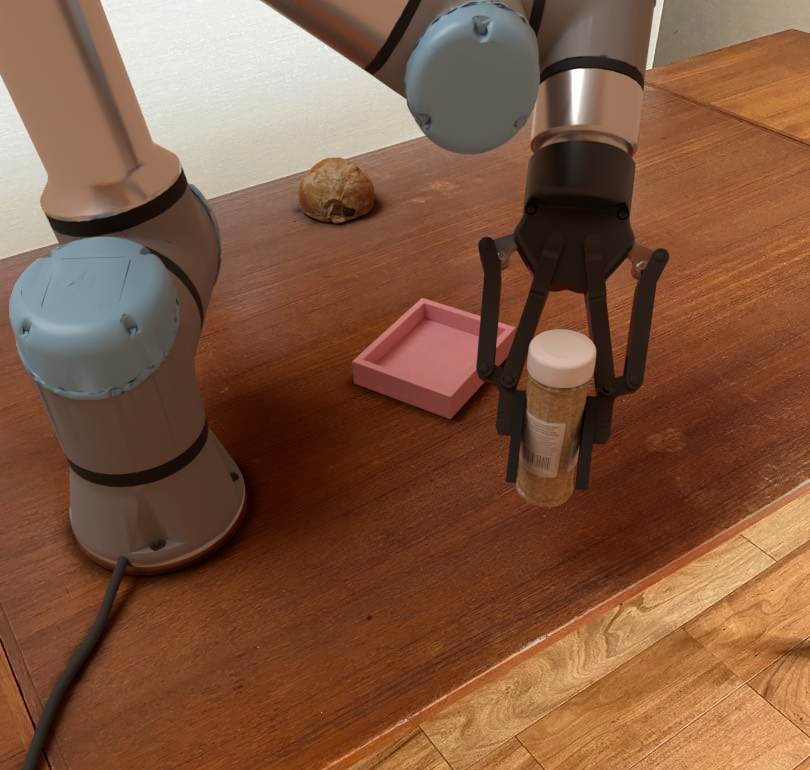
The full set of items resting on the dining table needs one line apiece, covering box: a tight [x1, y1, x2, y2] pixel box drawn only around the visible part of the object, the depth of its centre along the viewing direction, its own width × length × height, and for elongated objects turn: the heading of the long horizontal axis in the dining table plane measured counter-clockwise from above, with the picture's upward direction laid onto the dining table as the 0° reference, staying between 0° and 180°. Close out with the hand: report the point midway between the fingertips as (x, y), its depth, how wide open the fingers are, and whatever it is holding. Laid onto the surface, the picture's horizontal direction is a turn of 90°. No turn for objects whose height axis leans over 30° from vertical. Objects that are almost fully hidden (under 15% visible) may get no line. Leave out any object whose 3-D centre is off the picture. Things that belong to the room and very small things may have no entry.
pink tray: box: [351, 297, 517, 420], centre depth 90 cm, size 14×12×3 cm
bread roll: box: [297, 157, 376, 225], centre depth 114 cm, size 10×10×8 cm
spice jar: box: [515, 328, 596, 508], centre depth 63 cm, size 5×5×13 cm
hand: (546, 484), depth 62 cm, fingers closed on spice jar, 4 cm apart
